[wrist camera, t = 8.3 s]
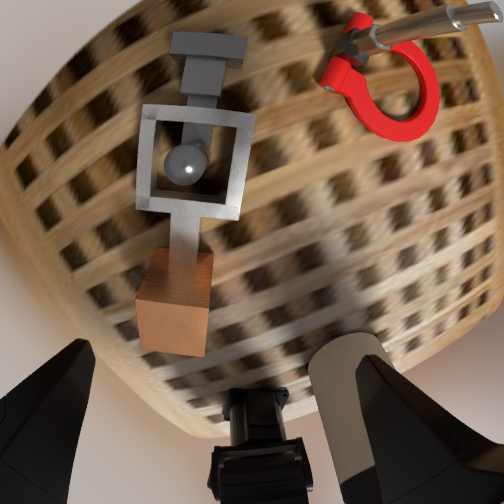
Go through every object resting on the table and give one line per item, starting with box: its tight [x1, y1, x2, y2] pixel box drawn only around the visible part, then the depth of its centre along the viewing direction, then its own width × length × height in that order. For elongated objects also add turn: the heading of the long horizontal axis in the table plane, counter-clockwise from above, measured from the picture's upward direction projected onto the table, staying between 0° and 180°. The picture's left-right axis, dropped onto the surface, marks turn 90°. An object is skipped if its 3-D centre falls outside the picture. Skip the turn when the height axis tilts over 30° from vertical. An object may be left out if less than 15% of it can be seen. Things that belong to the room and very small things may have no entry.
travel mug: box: [308, 332, 396, 504], centre depth 18 cm, size 8×8×18 cm
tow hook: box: [319, 1, 503, 142], centre depth 10 cm, size 8×13×9 cm
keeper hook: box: [164, 32, 248, 186], centre depth 13 cm, size 8×4×4 cm, turn 171°
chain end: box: [135, 104, 256, 357], centre depth 15 cm, size 14×6×6 cm, turn 171°
